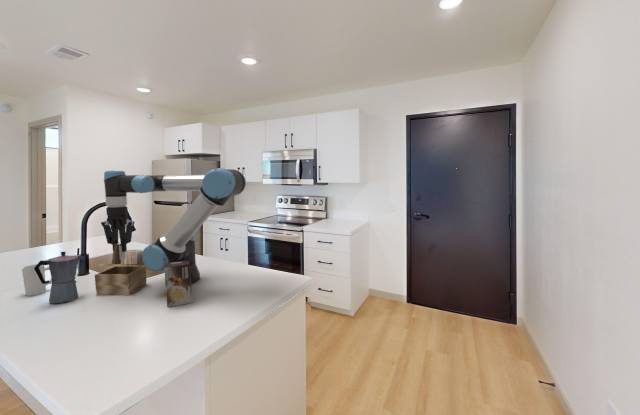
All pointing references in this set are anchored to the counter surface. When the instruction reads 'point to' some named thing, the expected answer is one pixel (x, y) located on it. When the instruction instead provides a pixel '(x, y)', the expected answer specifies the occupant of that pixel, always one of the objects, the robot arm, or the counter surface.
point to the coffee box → (178, 283)
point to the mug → (34, 280)
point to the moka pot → (61, 277)
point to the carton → (120, 280)
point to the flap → (116, 258)
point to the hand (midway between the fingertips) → (120, 259)
